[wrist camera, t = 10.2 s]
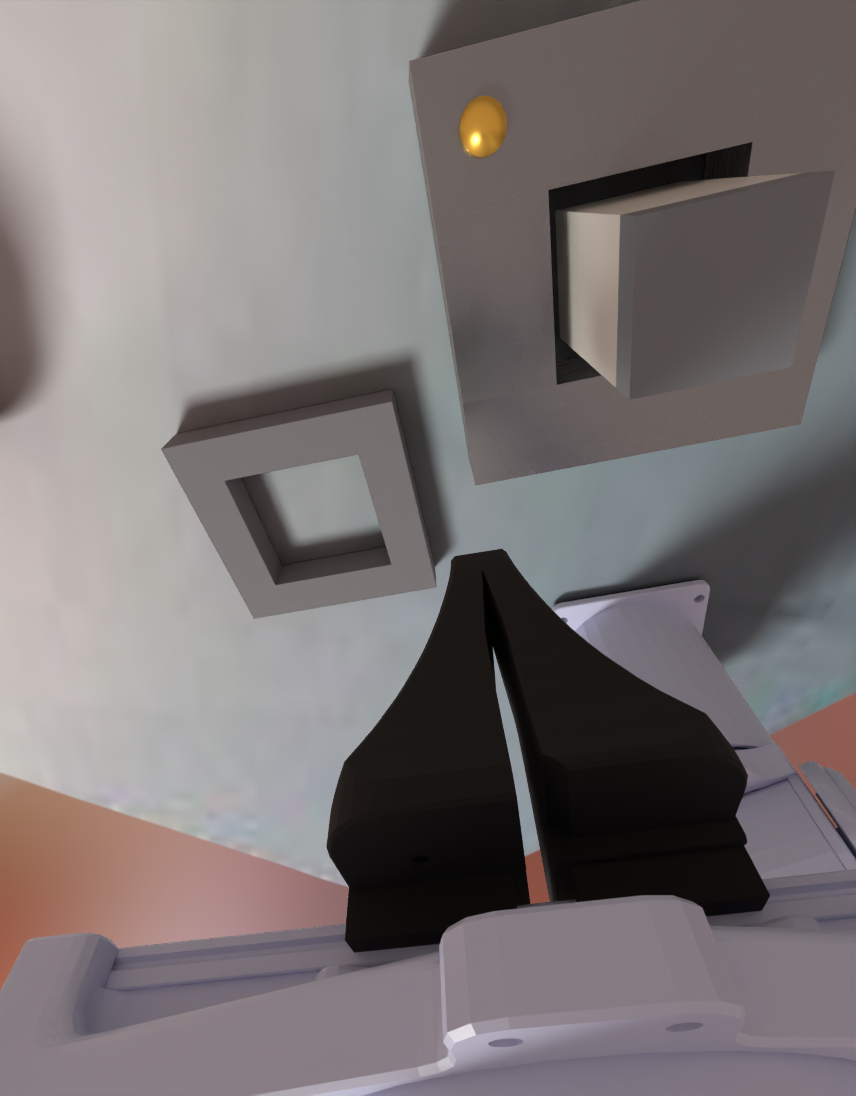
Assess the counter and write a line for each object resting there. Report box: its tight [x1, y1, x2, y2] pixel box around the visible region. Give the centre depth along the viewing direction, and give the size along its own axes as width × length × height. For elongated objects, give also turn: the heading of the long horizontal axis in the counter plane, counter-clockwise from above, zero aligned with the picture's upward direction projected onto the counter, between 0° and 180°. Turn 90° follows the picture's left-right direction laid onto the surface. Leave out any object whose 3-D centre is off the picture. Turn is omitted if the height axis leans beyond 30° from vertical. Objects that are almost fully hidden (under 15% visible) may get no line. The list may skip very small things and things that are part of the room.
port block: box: [409, 0, 856, 485], centre depth 16 cm, size 12×12×3 cm
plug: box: [555, 171, 835, 400], centre depth 14 cm, size 4×4×7 cm
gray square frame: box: [161, 389, 436, 619], centre depth 22 cm, size 9×9×2 cm
